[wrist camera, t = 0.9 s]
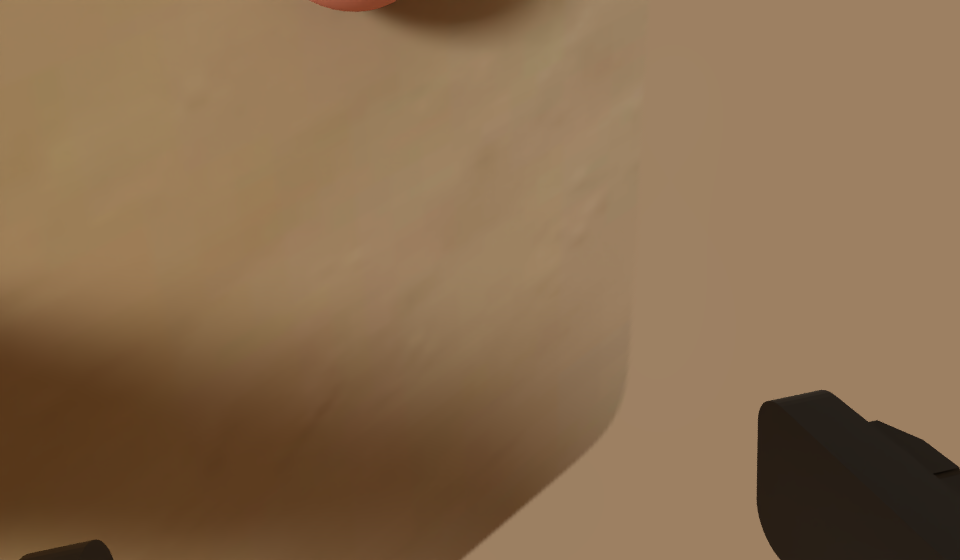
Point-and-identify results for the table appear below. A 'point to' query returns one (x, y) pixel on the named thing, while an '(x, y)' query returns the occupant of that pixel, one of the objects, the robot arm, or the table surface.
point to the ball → (353, 4)
